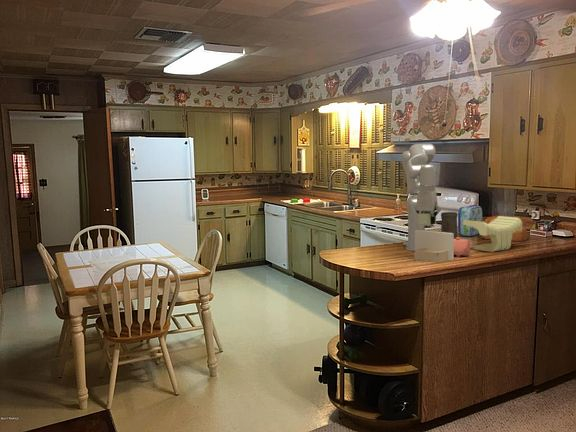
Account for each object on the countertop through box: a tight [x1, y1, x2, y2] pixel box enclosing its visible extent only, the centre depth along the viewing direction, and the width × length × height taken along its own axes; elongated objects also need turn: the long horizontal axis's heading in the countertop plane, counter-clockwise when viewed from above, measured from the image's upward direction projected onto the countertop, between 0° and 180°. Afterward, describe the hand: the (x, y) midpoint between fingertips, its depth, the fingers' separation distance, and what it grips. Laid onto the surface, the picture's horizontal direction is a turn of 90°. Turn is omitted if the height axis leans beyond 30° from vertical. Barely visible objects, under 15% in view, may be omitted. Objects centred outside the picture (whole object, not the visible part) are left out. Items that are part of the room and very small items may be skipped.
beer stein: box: [440, 211, 458, 239], centre depth 306 cm, size 15×11×20 cm
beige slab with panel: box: [413, 230, 455, 264], centre depth 255 cm, size 22×12×14 cm, turn 42°
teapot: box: [454, 236, 472, 258], centre depth 263 cm, size 14×12×10 cm
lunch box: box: [457, 204, 483, 237], centre depth 336 cm, size 26×11×21 cm, turn 141°
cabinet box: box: [418, 211, 437, 227], centre depth 251 cm, size 6×7×8 cm
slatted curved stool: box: [463, 215, 522, 253], centre depth 277 cm, size 30×16×18 cm, turn 118°
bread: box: [480, 215, 528, 242], centre depth 314 cm, size 14×26×16 cm, turn 46°
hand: (427, 223), depth 251 cm, fingers closed on cabinet box, 6 cm apart
